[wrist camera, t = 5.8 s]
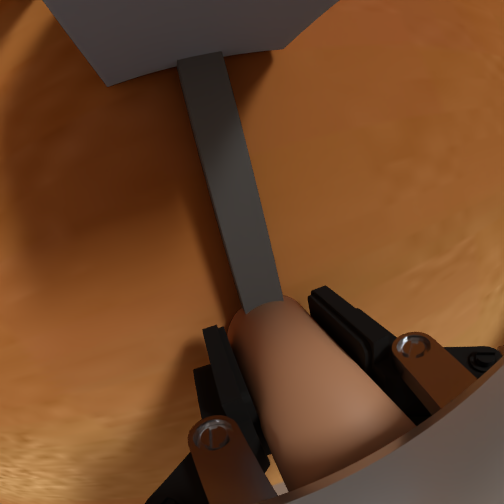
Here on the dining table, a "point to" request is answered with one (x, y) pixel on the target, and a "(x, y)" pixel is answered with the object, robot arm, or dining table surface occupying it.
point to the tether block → (246, 221)
